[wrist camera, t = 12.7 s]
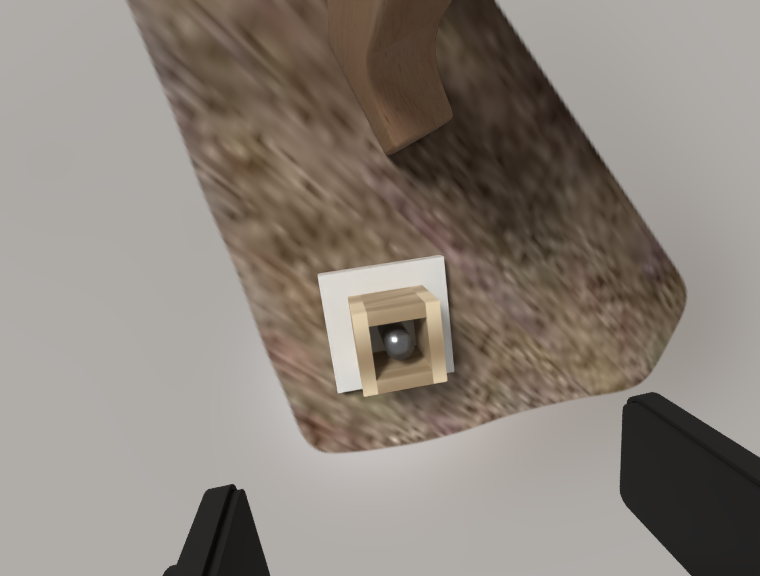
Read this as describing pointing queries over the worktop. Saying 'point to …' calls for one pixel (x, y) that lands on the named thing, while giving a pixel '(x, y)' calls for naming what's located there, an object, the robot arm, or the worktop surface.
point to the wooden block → (392, 65)
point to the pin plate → (370, 285)
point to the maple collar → (428, 351)
